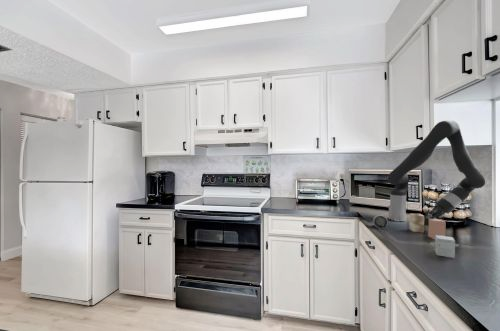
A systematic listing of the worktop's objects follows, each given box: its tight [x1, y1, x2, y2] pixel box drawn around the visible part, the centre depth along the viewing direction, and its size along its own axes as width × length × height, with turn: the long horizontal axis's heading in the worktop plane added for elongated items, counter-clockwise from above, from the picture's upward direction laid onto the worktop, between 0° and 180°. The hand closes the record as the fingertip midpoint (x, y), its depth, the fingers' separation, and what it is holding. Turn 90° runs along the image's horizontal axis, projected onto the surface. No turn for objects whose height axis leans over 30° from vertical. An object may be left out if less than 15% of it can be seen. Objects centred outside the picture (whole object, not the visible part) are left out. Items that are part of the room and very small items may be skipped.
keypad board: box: [426, 241, 460, 247], centre depth 130 cm, size 26×12×1 cm, turn 170°
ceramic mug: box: [367, 214, 389, 230], centre depth 151 cm, size 11×8×8 cm
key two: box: [427, 219, 447, 240], centre depth 124 cm, size 5×5×9 cm
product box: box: [434, 235, 456, 259], centre depth 106 cm, size 6×6×7 cm
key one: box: [409, 213, 425, 233], centre depth 137 cm, size 5×5×9 cm
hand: (422, 224), depth 137 cm, fingers closed
